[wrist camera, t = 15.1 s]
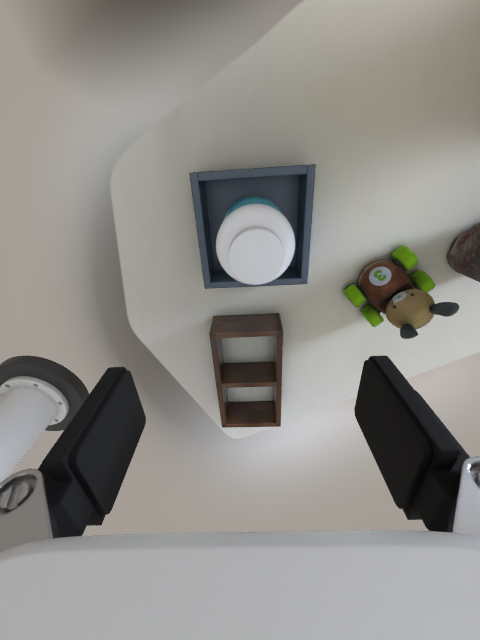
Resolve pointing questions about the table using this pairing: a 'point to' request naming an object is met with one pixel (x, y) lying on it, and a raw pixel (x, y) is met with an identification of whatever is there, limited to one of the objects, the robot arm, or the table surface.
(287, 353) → the table surface
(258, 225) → the pill bottle
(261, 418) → the rack
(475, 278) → the candle
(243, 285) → the blue square tray
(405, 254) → the toy car
